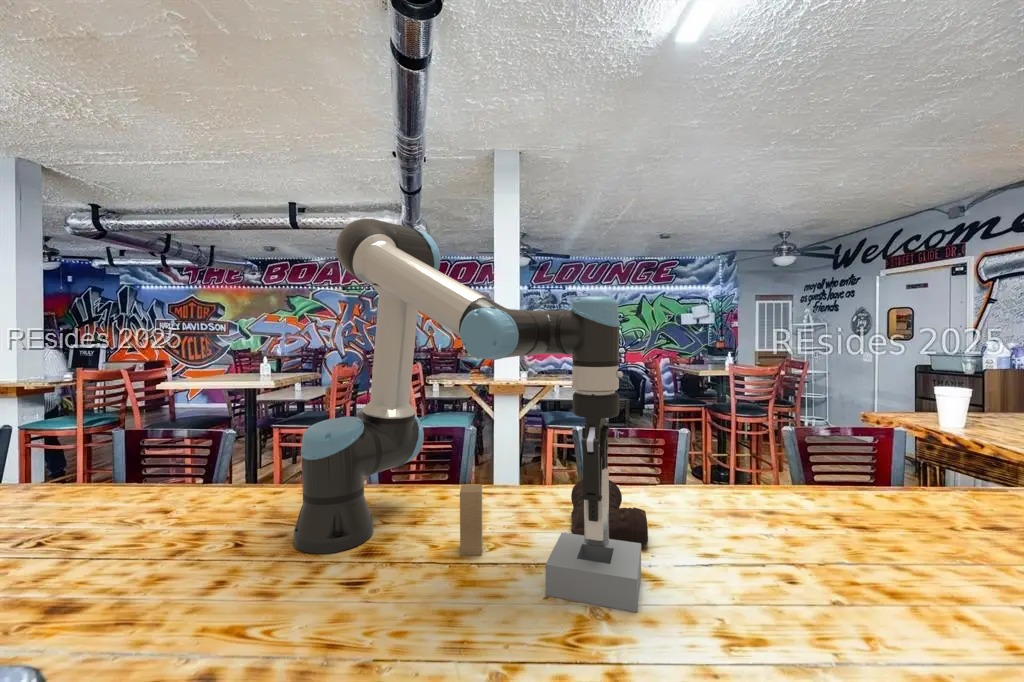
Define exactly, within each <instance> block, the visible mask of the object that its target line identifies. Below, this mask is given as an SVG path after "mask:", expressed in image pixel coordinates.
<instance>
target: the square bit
mask: <svg viewBox="0 0 1024 682" xmlns="http://www.w3.org/2000/svg"><path fill="white" fill-rule="evenodd" d="M483 531H484V530H483V484H461V486H460V491H459V553H460V554H459V556H460V557H480V556H481V557H482V556H483V543H484V542H483V539H484V537H483V536H484V535H483Z"/></svg>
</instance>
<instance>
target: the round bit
mask: <svg viewBox="0 0 1024 682" xmlns="http://www.w3.org/2000/svg"><path fill="white" fill-rule="evenodd" d="M609 472H610V470H609V468H608V469H607V468H605V467H602V499H603V541H599V540H592V539H586V526H585V500H584V542H585V543H586V544H587V545H588V546H591V547H596V548H601V547H605V546H607V545H608V544H609V480H610V477H609V475H610V473H609Z"/></svg>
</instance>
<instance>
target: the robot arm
mask: <svg viewBox="0 0 1024 682" xmlns="http://www.w3.org/2000/svg"><path fill="white" fill-rule="evenodd" d="M335 245H336V246H335V247H336V248H335V249H336V250H335V251H336V257H337V259H338V261H339V263H340V264H341V266H342V268H344V270H346V272H348V273H349V274H351V275H352V276H354V277H355V278H356V279H358V280H359V281H361V282H363V283H366V284H370V285H371V284H372V285H371V286H372V288H373V289H374V290H375V292H376V293H377V295H378V302H377V313H376V315H377V316H376V327H375V328H376V329H375V338H374V350H373V361H372V377H371V388H370V400H369V402H368V403H367V404H365V405H364V406H363V407H362V411H361V418H360V417H357V416H340V417H333V418H328V419H325V420H322V421H318V422H316V423H314V424H312V425H310V426H308V428H307V429H305V431H304V432H303V434H302V439H301V447H300V448H301V449H300V455H301V456H300V457H301V466H302V467H301V472H302V473H301V478H302V479H301V481H302V482H301V483H302V505H301V508H300V510H299V515H298V517H297V522H296V525H295V527H294V529H293V546H294V547H295V548H296V549H297V550H299V551H301V552H303V553H308V554H333V553H337V552H343V551H346V550H350V549H353V548H355V547H357V546H360V545H361V544H364V543H365V542H366V541H368V540H369V539H370V538H371V537H372V535H374V518H373V516H372V515H371V512H370V509H369V505H368V503H367V500H366V496H365V478H366V477H368V476H371V475H376V474H377V473H382V472H384V471H387V470H389V469H393V468H399V467H402V466H404V464H407V463H409V462H411V461H413V460H414V459H415V458H416V457H417V456H418V455H419V454H420V452H421V450H422V447H423V444H424V438H425V434H424V433H425V432H424V427H423V426H421V424H422V423H421V420H420V418H419V417H418V416H417V415H416V409H415V408H414V407H413V406H412V404H411V403H410V402H411V401H410V399H411V389H412V377H413V369H414V368H413V367H414V365H413V364H414V356H415V355H414V354H415V344H416V334H417V324H418V312H420V313H422V314H424V315H425V316H427V317H428V318H430V319H432V320H433V321H435V322H436V323H437V324H439V325H441V326H443V327H444V328H446V329H447V330H449V331H451V332H452V333H454V334H456V335H457V336H458V337H460V341H461V344H462V345H463V346H464V349H465V351H466V352H467V354H469V355H470V356H471V357H474V358H476V359H481V360H489V361H490V360H492V361H495V360H497V361H498V360H501V359H502V360H503V359H507V358H513V357H514V358H515V357H526V356H535V355H536V356H537V355H571V358H572V367H571V372H572V374H571V378H572V380H571V382H572V383H571V384H572V385H571V387H572V389H573V390H574V391H575V392H574V393H572V414H573V415H574V416H576V417H579V418H584V419H585V424H584V427H582V428H581V429H582V430H581V437H582V438H581V448H582V449H581V450H582V451H581V452H582V480H583V495H581V496H580V498H581V499H584V500H585V526H586V539H592V540H599V541H603V499H602V467H605V468H607V469H608V470H609V468H608V463H609V462H608V459H609V458H608V453H609V451H608V449H609V435H610V425H609V424H608V423H607V422H606V420H607V419H613V418H616V417H618V416H619V414H620V394H619V393H618V392H616V391H618V389H620V379H619V378H623V376H624V373H623V371H621V370H620V371H618V370H619V368H620V367H619V365H620V361H619V360H620V358H619V357H620V328H621V324H620V315H619V304H618V303H619V302H618V301H617V299H616V298H614V297H613V296H600V295H599V296H597V295H596V296H595V295H594V296H593V295H592V296H581V297H580V296H578V297H575V298H573V300H572V301H571V309H565V310H529V309H527V310H526V309H515V308H513V309H512V308H507V307H505V306H503V305H501V304H499V303H497V302H496V301H493V300H492V299H489V298H488V297H487V296H485V295H483V294H481V293H480V292H477V291H476V290H474V289H472V288H470V287H469V286H466V285H465V284H463V283H462V282H459V281H458V280H456V279H454V278H452V277H451V276H449V275H446V274H445V273H443V272H441V271H439V270H440V267H441V254H440V249H439V247H438V244H437V243H436V241H435V240H434V238H433V237H432V236H431V235H430V234H428V233H427V232H425V231H422V230H420V229H417V228H415V227H410V226H406V225H405V226H404V225H401V224H395V223H393V222H392V223H391V222H387V221H382V220H379V219H375V218H361V219H357V220H354V221H351V222H349V223H348V224H347V225H346V226H345V227H343V228H342V230H341V231H340V233H339V235H338V237H337V240H336V244H335ZM609 488H611V483H610V482H609Z"/></svg>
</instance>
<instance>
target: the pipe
mask: <svg viewBox="0 0 1024 682" xmlns="http://www.w3.org/2000/svg"><path fill="white" fill-rule="evenodd" d="M609 482H610V483H611V488H609V539H613V540H620V541H628V542H635V543H641V546H644V545H645V546H646V544H649V543H648V542H649V531H648V530H649V528H648V520H647V519H648V518H647V513H646V511H645V510H644V509H642V508H639V507H620V506H621V504H622V501H623V496H622V492H621V489H620V488H619V486H618V485H617V484H616V483H615V482H614V481H612V480H611V479H609ZM570 495H571V496H570V497H571V499H570V500H571V504H572V511H571V515H570V517H571V527H570V532H571V534H577V535H584V499H581V498H580V496H581V495H583V479H581V480H579V481H578V482H576V483H575V485H574V486H573V487H572V490H571V494H570Z"/></svg>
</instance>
